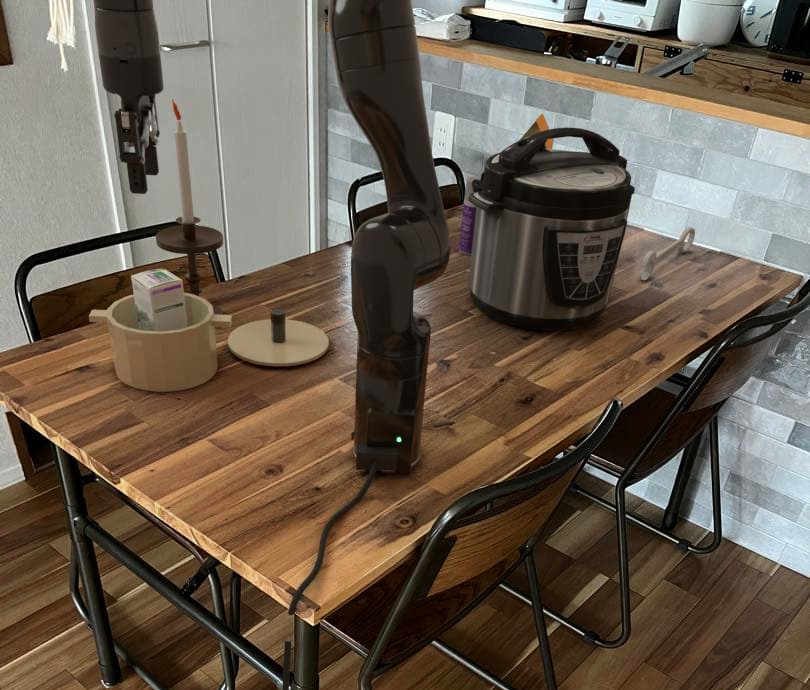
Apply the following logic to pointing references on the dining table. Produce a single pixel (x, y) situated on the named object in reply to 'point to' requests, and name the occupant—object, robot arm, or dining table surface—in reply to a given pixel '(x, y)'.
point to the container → (468, 220)
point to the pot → (163, 346)
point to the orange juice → (538, 127)
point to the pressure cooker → (549, 231)
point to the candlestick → (188, 220)
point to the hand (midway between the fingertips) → (145, 183)
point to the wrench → (667, 252)
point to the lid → (278, 341)
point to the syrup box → (159, 301)
